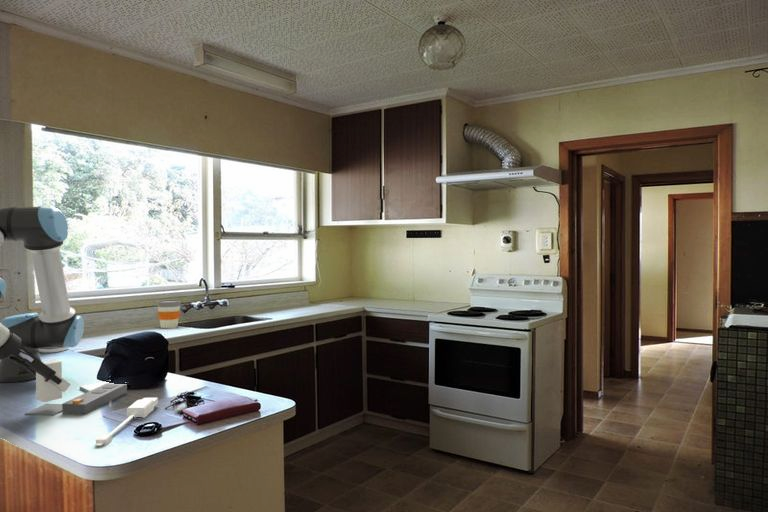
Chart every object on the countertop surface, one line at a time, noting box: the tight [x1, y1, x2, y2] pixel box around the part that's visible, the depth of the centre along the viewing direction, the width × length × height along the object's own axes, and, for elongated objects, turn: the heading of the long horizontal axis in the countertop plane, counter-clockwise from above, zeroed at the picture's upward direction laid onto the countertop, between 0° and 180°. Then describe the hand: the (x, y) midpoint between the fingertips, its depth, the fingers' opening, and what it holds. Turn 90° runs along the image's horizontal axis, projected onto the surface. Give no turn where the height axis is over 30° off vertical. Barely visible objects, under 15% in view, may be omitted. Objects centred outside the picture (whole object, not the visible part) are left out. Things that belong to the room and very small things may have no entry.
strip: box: [61, 383, 128, 415], centre depth 173 cm, size 30×7×4 cm, turn 175°
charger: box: [35, 359, 63, 403], centre depth 161 cm, size 5×5×11 cm
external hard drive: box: [79, 381, 114, 393], centre depth 186 cm, size 2×8×12 cm
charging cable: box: [94, 397, 159, 447], centre depth 150 cm, size 5×32×3 cm, turn 1°
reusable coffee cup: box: [156, 299, 181, 329], centre depth 308 cm, size 13×13×15 cm
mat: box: [24, 403, 63, 416], centre depth 162 cm, size 9×9×1 cm
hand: (62, 386), depth 164 cm, fingers closed on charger, 5 cm apart
